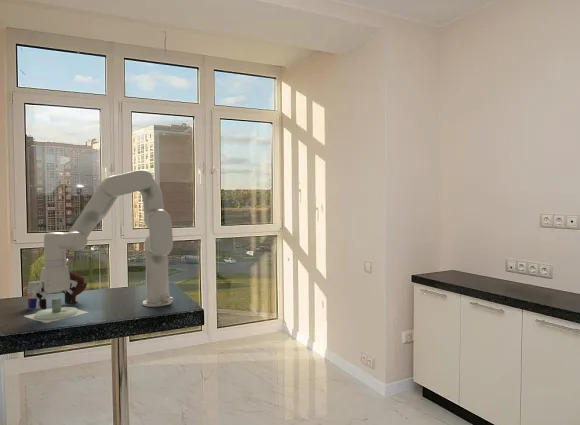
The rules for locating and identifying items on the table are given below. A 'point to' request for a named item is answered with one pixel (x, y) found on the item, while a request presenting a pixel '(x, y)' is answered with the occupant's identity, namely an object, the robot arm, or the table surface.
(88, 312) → the mat
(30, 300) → the energy drink
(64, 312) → the lid
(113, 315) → the table surface
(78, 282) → the ice cream bowl
